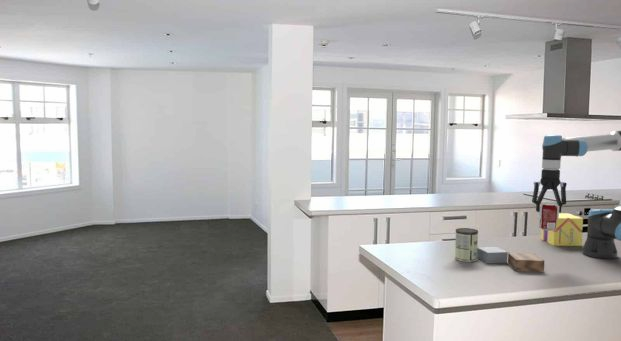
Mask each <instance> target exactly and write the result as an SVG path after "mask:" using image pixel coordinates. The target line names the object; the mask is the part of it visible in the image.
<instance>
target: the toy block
mask: <svg viewBox="0 0 621 341" xmlns="http://www.w3.org/2000/svg"><path fill="white" fill-rule="evenodd" d="M583 224H584V218H582V217H580V216H577V215H574V214H572V213H567V212H566V213H562V212H561V213H559V220H556V229H555V230H553V231H546V230H542V229H541V228H540V230H541V231H540V240H542V241H543V240H544V242H546V243H547V244H549V245H552V246H557V247H558V246H560V247H561V246H564V247H565V246H566V247H568V246H571V247H572V246H573V247H574V246H575V247H582V246H583V245H582V243H583V242H582V241H583Z"/></svg>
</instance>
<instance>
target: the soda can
mask: <svg viewBox="0 0 621 341" xmlns="http://www.w3.org/2000/svg"><path fill="white" fill-rule="evenodd" d="M541 205H542V216H541V219H539V228H540V230H541V229H542V230H546V231H553V230H555V229H556V216H557V207H556V206H555V205H557V203H553V202H541Z"/></svg>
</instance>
